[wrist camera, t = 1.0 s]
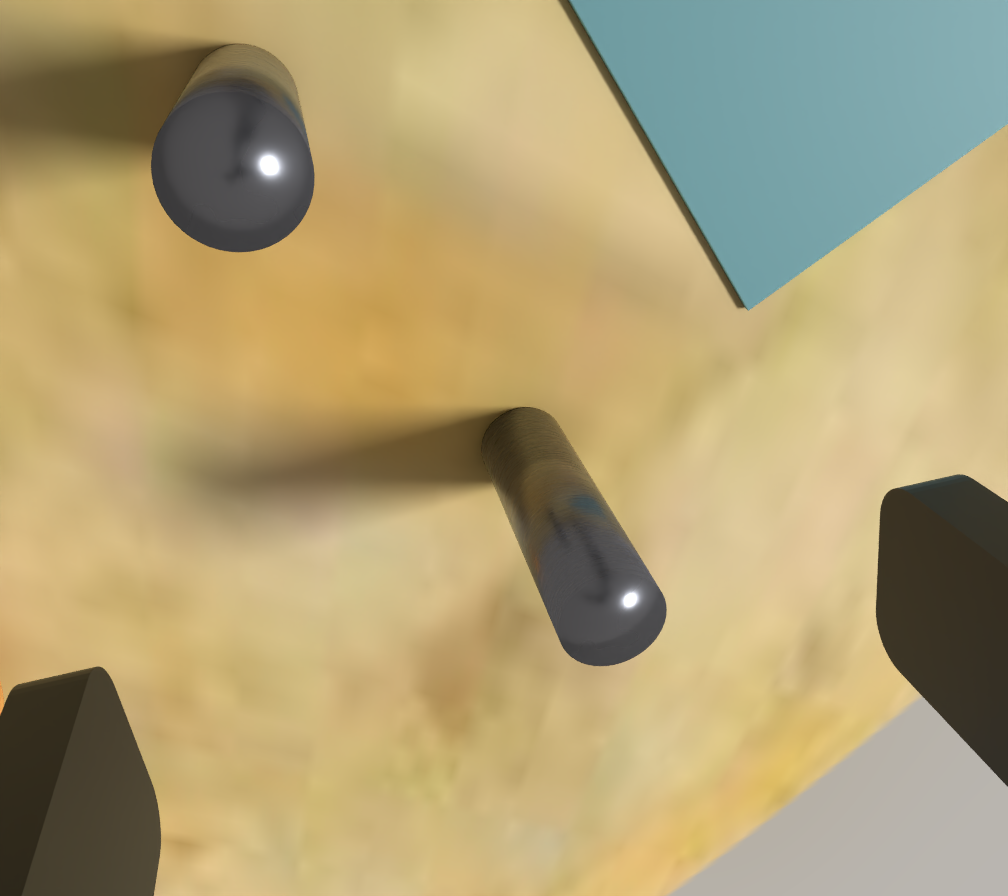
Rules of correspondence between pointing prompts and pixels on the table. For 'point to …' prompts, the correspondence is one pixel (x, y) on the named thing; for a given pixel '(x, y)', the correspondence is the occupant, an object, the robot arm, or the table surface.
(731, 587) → the table surface
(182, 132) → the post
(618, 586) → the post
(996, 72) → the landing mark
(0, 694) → the ball
